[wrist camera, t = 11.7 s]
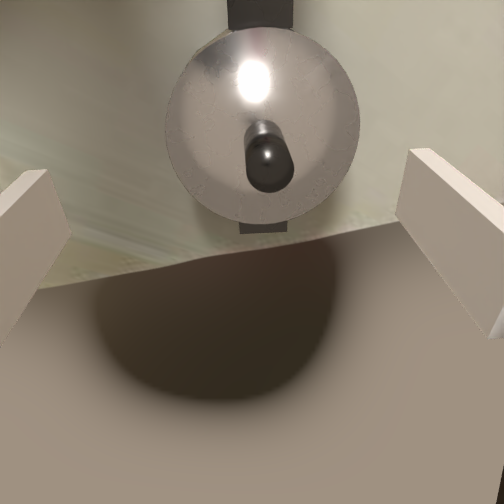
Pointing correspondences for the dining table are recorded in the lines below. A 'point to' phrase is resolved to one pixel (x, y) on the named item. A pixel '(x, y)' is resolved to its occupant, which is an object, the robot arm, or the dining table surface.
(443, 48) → the dining table surface
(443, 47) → the dining table surface
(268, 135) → the lid
